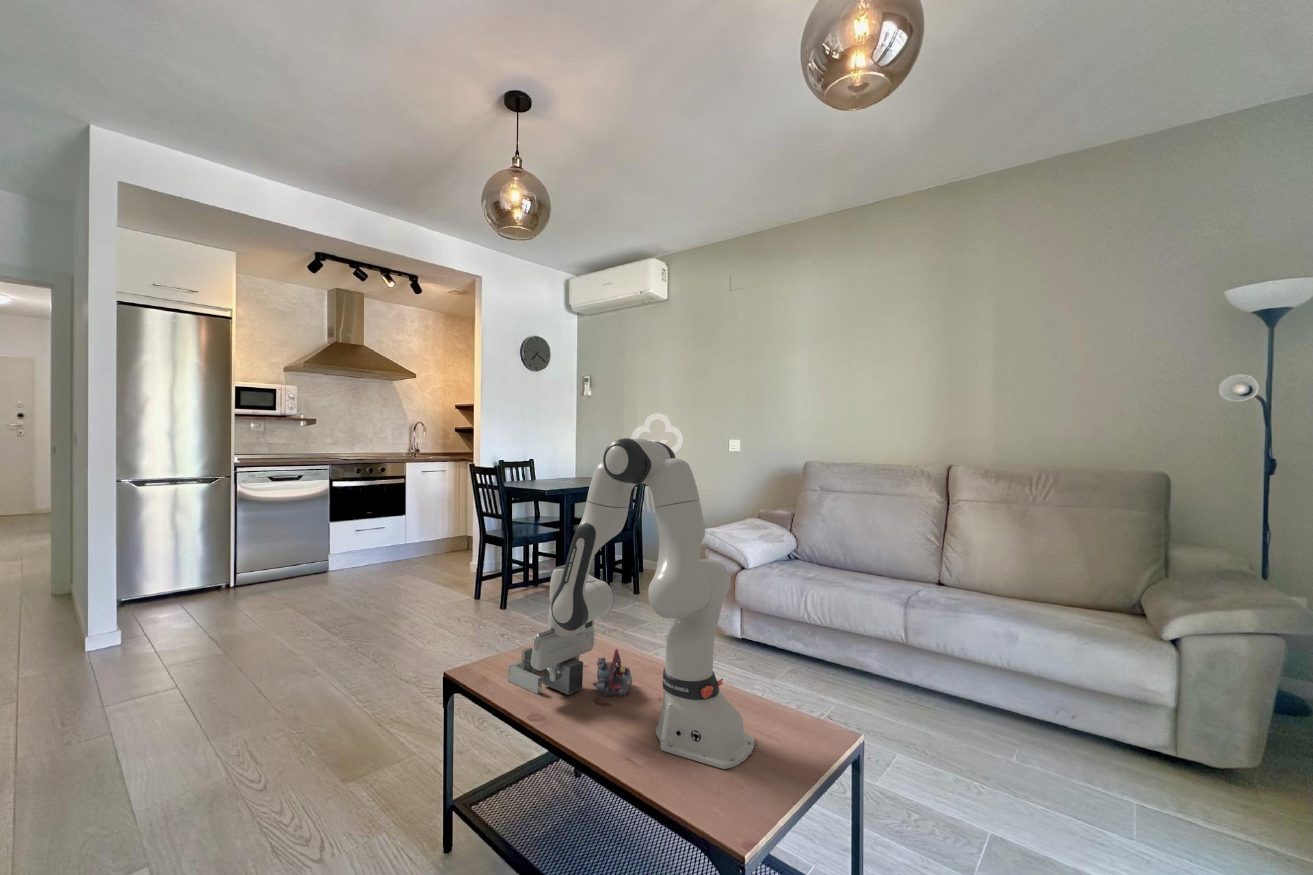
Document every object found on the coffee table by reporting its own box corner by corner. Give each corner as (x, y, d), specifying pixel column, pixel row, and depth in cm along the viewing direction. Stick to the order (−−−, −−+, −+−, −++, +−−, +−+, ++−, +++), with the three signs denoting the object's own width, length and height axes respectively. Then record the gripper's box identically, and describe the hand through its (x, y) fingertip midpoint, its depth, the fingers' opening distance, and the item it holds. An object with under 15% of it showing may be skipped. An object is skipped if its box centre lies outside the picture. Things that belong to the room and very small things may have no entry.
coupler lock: (582, 688, 140) (583, 658, 141) (568, 694, 136) (569, 664, 137) (556, 677, 146) (557, 649, 147) (542, 683, 142) (543, 654, 143)
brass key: (627, 671, 154) (627, 666, 154) (624, 676, 151) (624, 670, 151) (603, 668, 156) (604, 663, 156) (600, 673, 153) (600, 668, 153)
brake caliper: (635, 692, 135) (609, 652, 137) (601, 715, 137) (576, 675, 138) (643, 674, 147) (619, 638, 148) (612, 695, 148) (588, 659, 149)
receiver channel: (571, 678, 148) (572, 653, 148) (537, 693, 138) (538, 667, 138) (541, 666, 155) (542, 642, 156) (507, 680, 146) (508, 654, 146)
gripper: (543, 637, 132) (540, 692, 131) (598, 618, 148) (597, 667, 148) (526, 631, 135) (524, 685, 135) (582, 613, 152) (581, 661, 151)
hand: (562, 676), depth 141 cm, fingers closed on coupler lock, 5 cm apart
